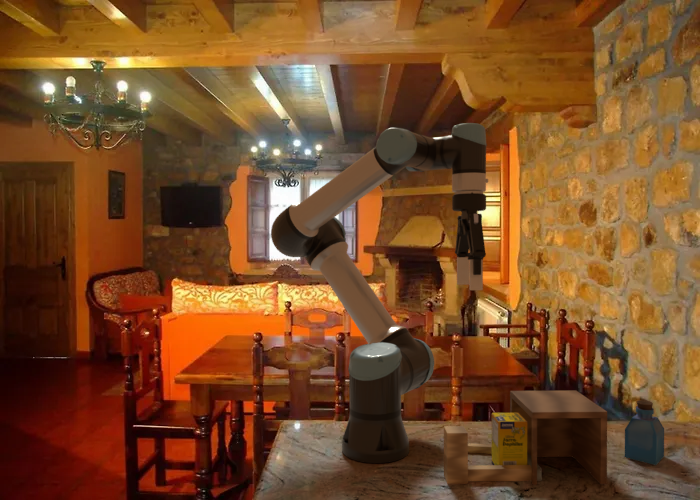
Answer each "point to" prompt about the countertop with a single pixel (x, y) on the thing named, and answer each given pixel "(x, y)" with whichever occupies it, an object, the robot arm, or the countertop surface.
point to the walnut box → (564, 428)
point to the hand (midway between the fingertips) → (469, 287)
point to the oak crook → (462, 473)
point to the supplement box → (509, 439)
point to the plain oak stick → (480, 448)
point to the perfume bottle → (644, 435)
